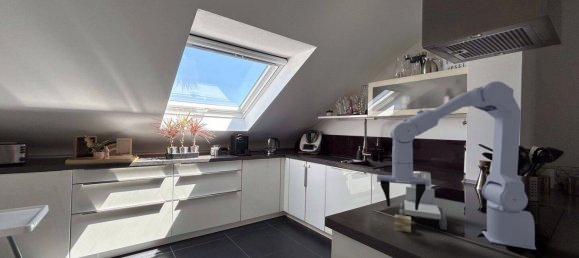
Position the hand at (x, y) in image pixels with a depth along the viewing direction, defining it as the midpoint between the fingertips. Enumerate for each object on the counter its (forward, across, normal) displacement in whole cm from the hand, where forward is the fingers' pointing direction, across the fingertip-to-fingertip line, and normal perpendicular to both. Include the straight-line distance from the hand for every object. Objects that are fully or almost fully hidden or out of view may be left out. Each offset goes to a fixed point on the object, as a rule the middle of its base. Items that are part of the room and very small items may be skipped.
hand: (402, 207), depth 74 cm
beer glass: (+7, -6, -24) cm, 26 cm away
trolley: (+7, -6, -12) cm, 15 cm away
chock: (+7, 0, -2) cm, 7 cm away
